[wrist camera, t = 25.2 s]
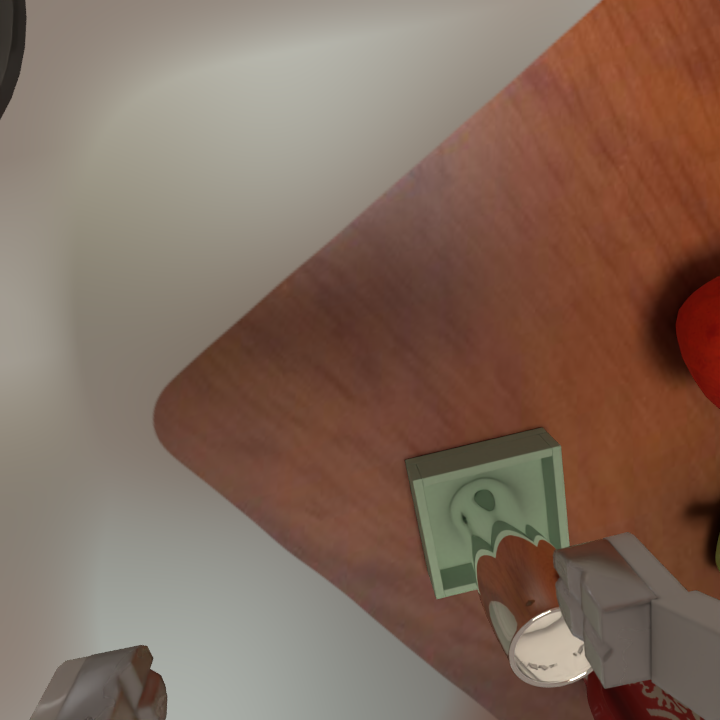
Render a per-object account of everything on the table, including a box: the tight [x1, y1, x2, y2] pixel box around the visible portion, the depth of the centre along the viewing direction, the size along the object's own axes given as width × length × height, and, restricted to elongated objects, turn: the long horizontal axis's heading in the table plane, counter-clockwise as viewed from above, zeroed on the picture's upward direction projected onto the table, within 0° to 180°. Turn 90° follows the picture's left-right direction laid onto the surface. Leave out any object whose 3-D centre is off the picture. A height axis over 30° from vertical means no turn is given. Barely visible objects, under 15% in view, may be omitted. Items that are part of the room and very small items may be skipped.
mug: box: [583, 670, 705, 720], centre depth 48 cm, size 13×9×14 cm
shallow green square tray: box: [405, 428, 569, 599], centre depth 45 cm, size 13×13×4 cm
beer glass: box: [450, 478, 593, 687], centre depth 38 cm, size 7×7×15 cm
